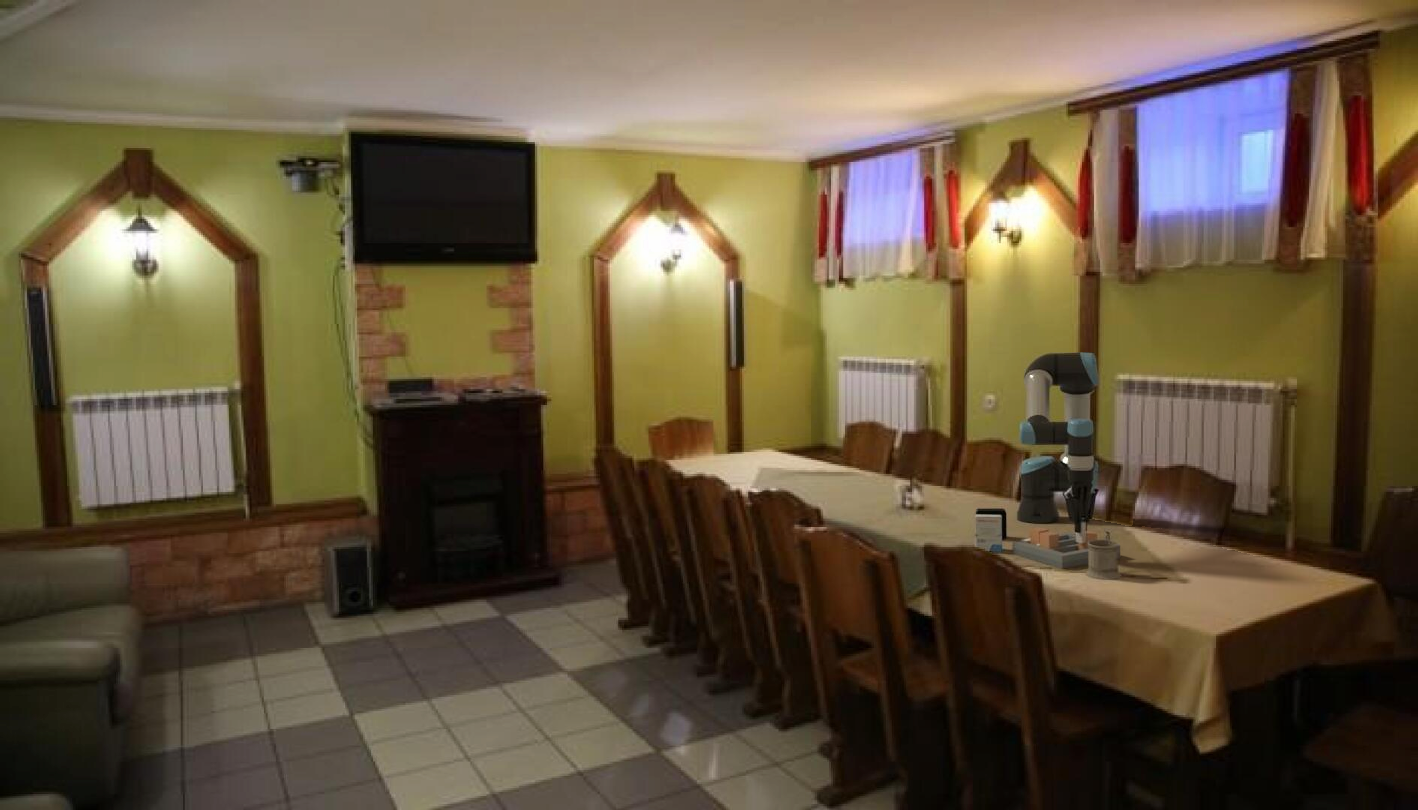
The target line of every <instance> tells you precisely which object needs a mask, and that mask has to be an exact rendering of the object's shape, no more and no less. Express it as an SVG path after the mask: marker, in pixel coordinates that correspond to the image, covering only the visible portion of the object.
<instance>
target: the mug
mask: <svg viewBox="0 0 1418 810" xmlns="http://www.w3.org/2000/svg"><path fill="white" fill-rule="evenodd" d="M1103 532H1105V534H1104V539H1097V540H1092V541H1089V542H1088V545H1089V564H1088V568H1087V571H1086V572H1085V576H1086V577H1088V578H1090V579H1096V580H1103V581H1104V580H1105V581H1106V580H1118V579H1120V578H1121V577H1122V575H1121V573H1120V572H1119V569H1118V567H1119V560H1118V559H1119V558H1118V546H1119V545H1120V544H1119V543H1118V542H1117V541H1114V540H1111V533H1110V532H1111V530H1108V529H1107V530H1103Z"/></svg>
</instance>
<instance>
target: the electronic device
mask: <svg viewBox="0 0 1418 810" xmlns="http://www.w3.org/2000/svg"><path fill="white" fill-rule="evenodd" d="M976 514H980V515H1002V540H1005V539H1007V537H1008V536H1007V535H1008V534H1007V532H1008V531H1007V530H1008V529H1007V512H1006V509H1005V508H991V507H989V508H984V507H983V508H981V507H980V508H976V509H975V515H976Z"/></svg>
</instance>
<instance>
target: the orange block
mask: <svg viewBox="0 0 1418 810" xmlns="http://www.w3.org/2000/svg"><path fill="white" fill-rule="evenodd" d="M1092 540H1098V533H1097V532H1094V531H1090V530H1087V531H1086V543H1079V542H1078V550H1083V549H1088V548H1089V545H1088V542H1089V541H1092Z"/></svg>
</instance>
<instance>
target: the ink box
mask: <svg viewBox="0 0 1418 810" xmlns="http://www.w3.org/2000/svg"><path fill="white" fill-rule="evenodd" d="M974 545H975V547H980V548H983V549H985V550H990V551H992V552H991V553H1002V552H1003V539H1002V515H980V514H976V513H975V516H974ZM975 547H974V548H975Z"/></svg>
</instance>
